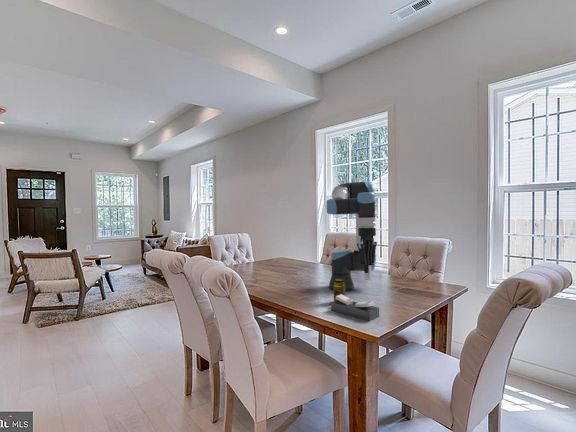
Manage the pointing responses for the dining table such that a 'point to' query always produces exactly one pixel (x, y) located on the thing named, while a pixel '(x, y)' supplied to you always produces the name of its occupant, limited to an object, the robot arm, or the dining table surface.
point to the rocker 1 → (344, 299)
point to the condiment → (339, 288)
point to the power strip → (355, 310)
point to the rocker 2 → (364, 304)
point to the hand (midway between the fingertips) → (368, 279)
